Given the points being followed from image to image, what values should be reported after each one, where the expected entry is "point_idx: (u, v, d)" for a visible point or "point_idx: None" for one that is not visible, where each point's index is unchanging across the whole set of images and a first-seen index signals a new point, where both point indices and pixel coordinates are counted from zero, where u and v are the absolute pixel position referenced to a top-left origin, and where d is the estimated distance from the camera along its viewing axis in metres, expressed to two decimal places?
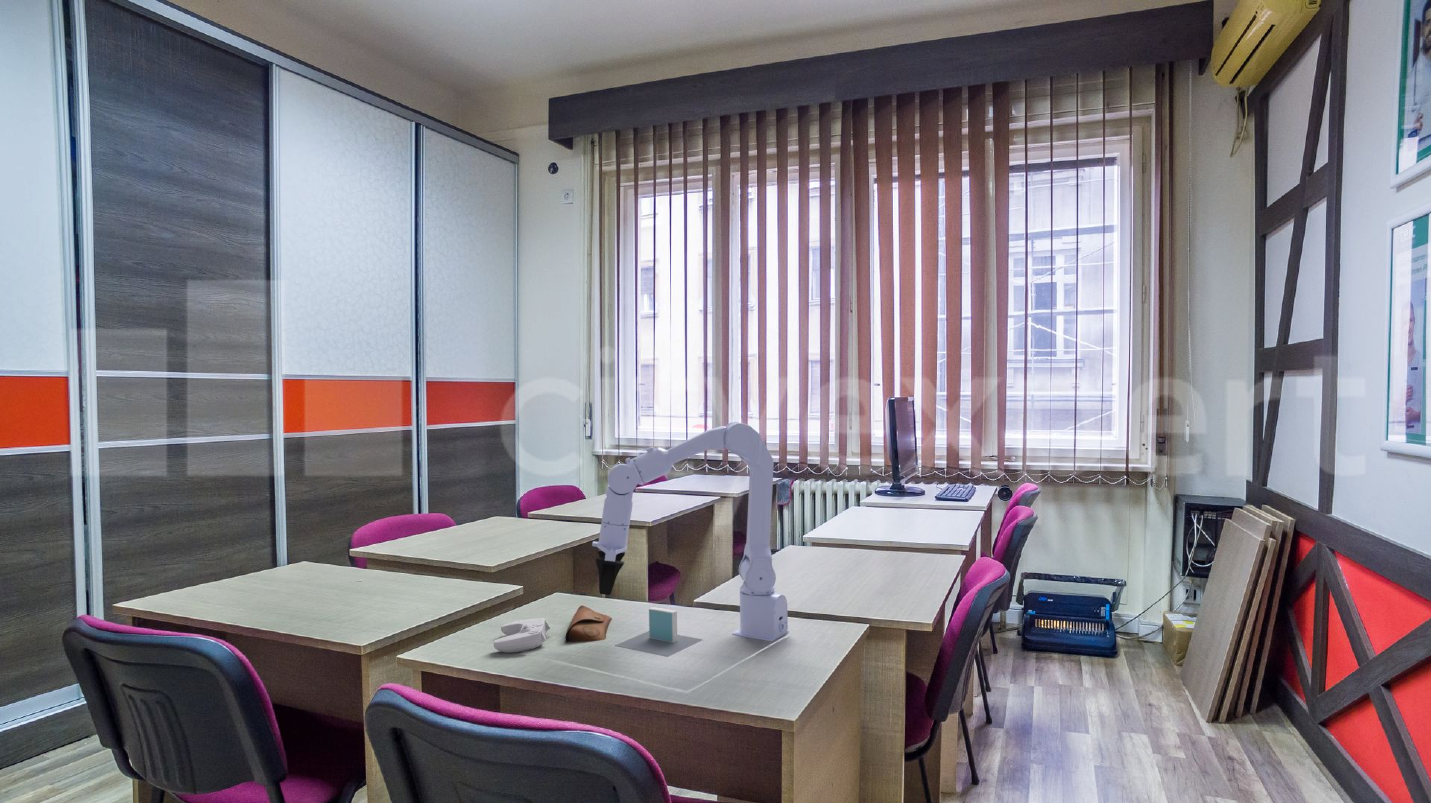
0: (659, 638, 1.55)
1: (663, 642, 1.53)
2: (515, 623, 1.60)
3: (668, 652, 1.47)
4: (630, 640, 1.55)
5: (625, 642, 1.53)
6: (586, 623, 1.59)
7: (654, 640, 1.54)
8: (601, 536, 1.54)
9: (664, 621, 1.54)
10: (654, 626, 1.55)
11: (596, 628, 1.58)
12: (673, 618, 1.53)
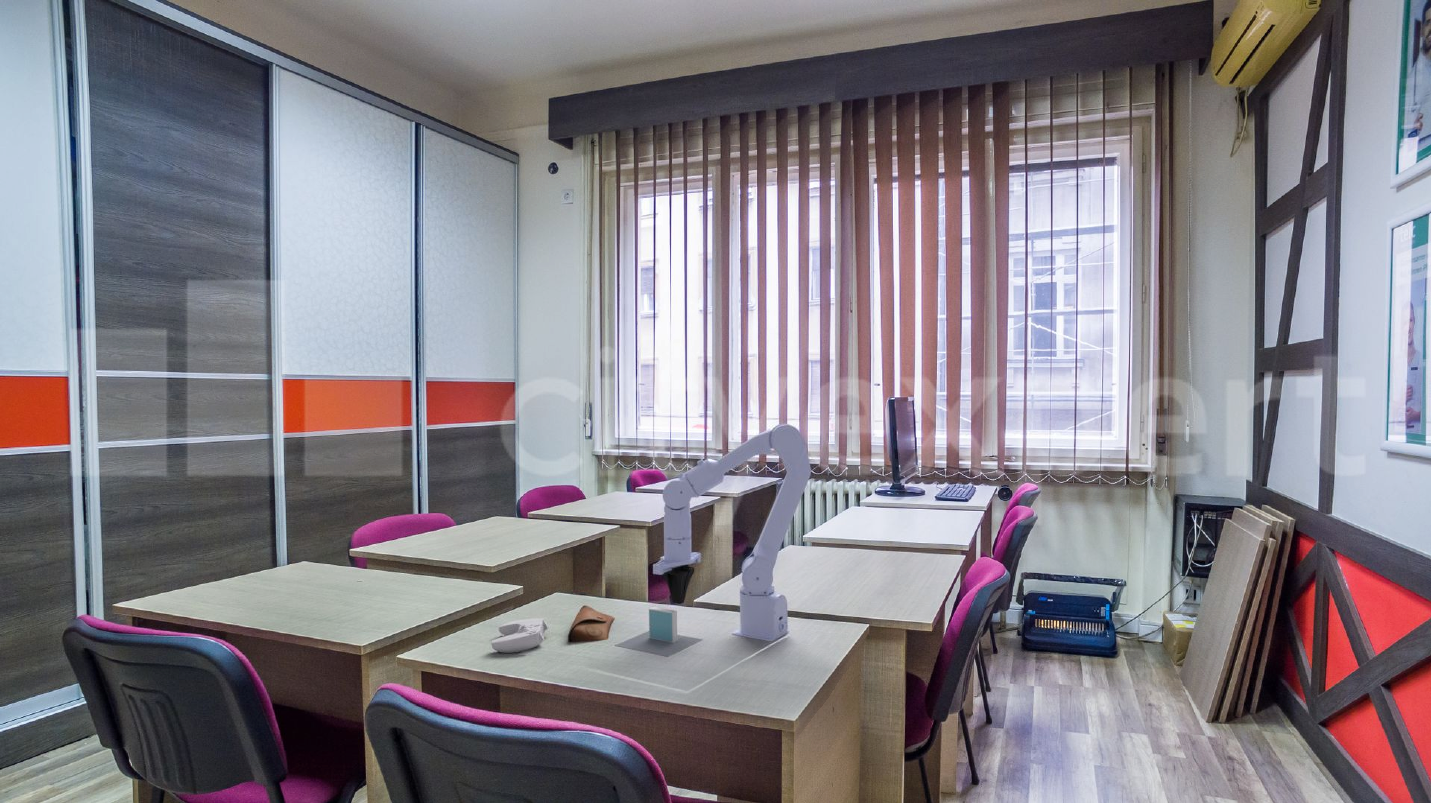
0: (659, 638, 1.55)
1: (663, 642, 1.53)
2: (513, 623, 1.59)
3: (668, 652, 1.47)
4: (630, 640, 1.55)
5: (625, 642, 1.53)
6: (589, 623, 1.59)
7: (654, 640, 1.54)
8: None
9: (664, 621, 1.54)
10: (654, 626, 1.55)
11: (599, 628, 1.58)
12: (673, 618, 1.53)
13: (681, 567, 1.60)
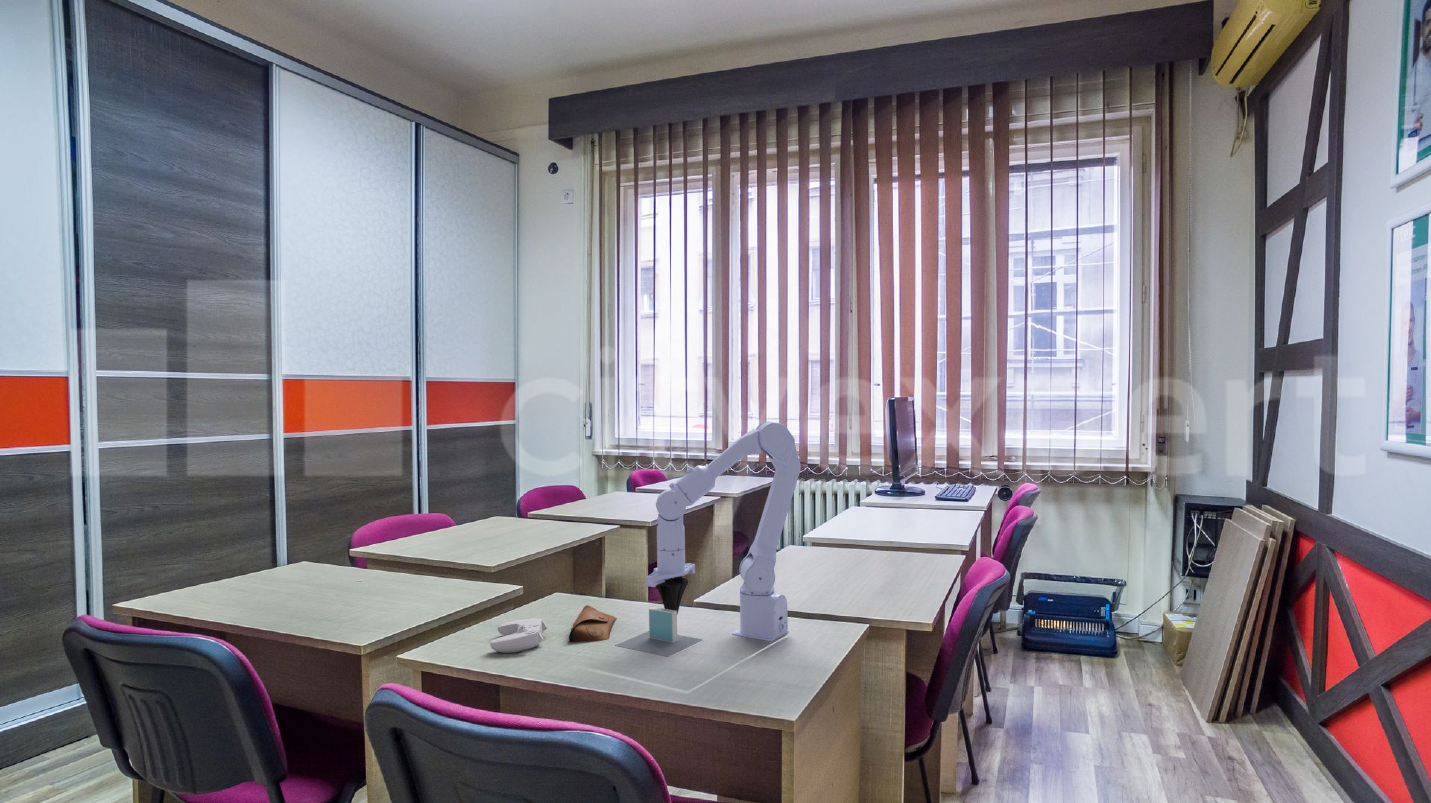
0: (659, 638, 1.55)
1: (663, 642, 1.53)
2: (512, 623, 1.59)
3: (668, 652, 1.47)
4: (630, 640, 1.55)
5: (625, 642, 1.53)
6: (590, 623, 1.59)
7: (654, 640, 1.54)
8: (657, 562, 1.58)
9: (664, 621, 1.54)
10: (654, 626, 1.55)
11: (600, 629, 1.58)
12: (673, 618, 1.53)
13: (674, 579, 1.58)
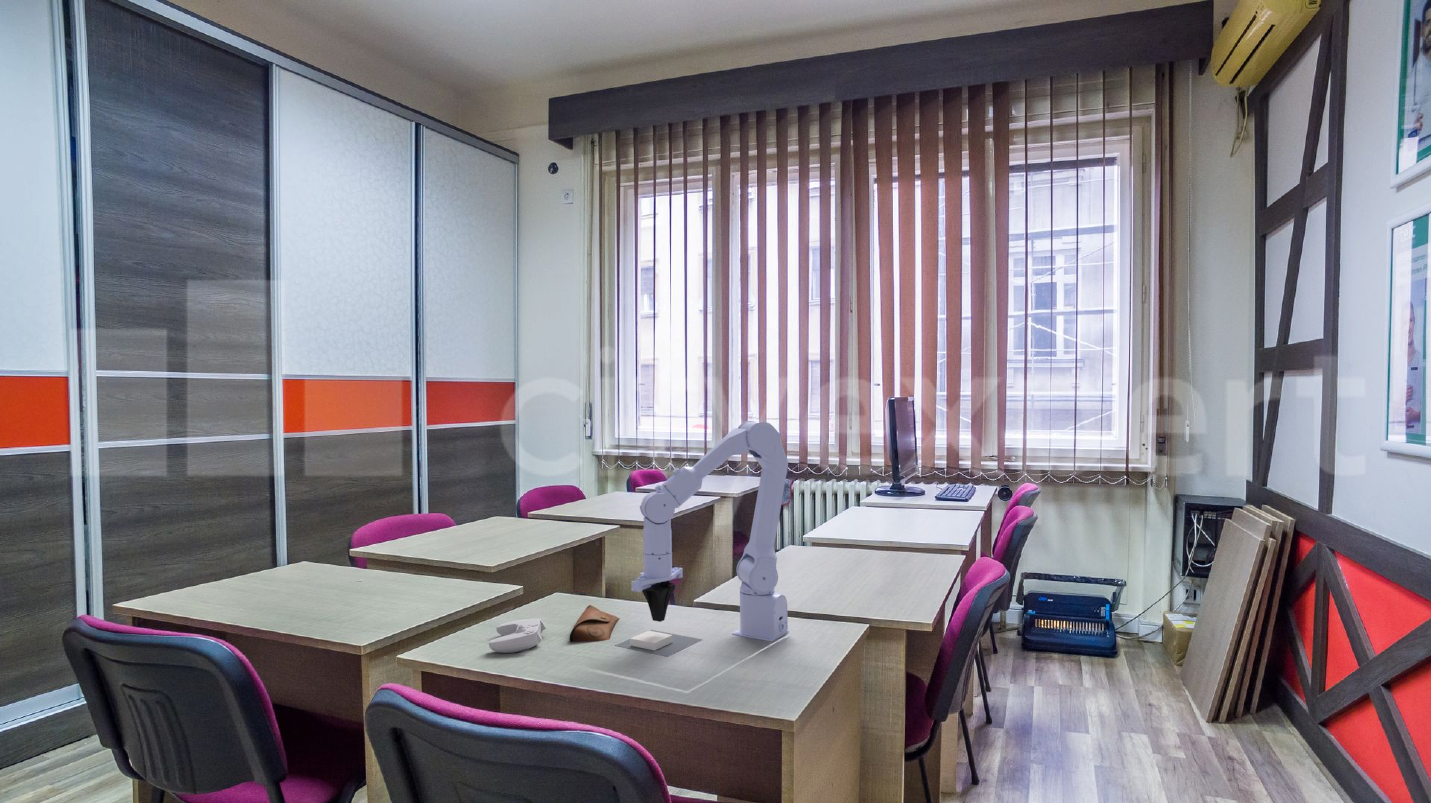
0: None
1: None
2: (510, 623, 1.59)
3: (668, 652, 1.47)
4: None
5: (625, 642, 1.53)
6: (591, 623, 1.59)
7: None
8: None
9: None
10: None
11: (601, 629, 1.58)
12: (658, 647, 1.49)
13: (661, 583, 1.54)
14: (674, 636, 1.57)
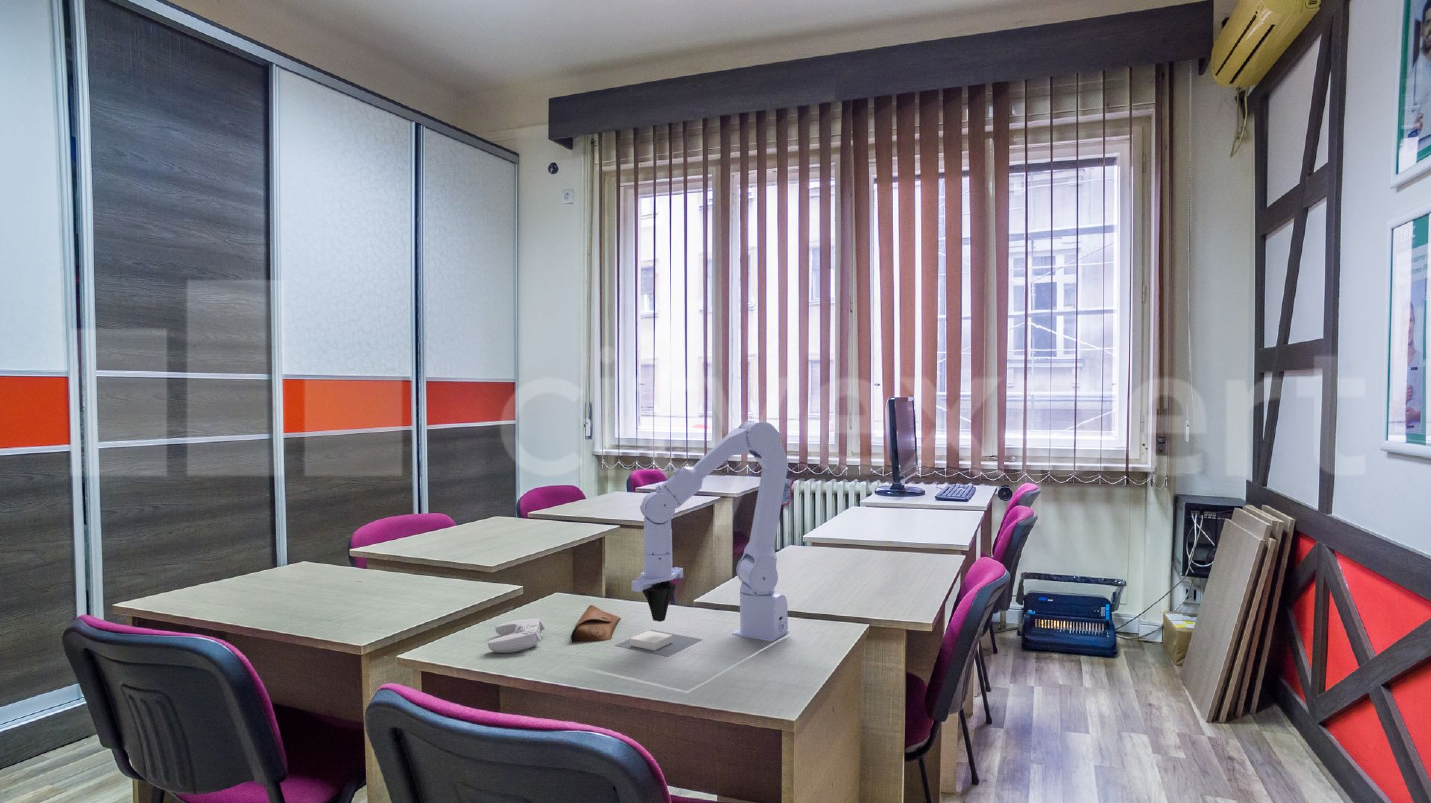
0: None
1: None
2: (509, 623, 1.59)
3: (668, 652, 1.47)
4: None
5: (625, 642, 1.53)
6: (593, 623, 1.59)
7: None
8: None
9: None
10: None
11: (602, 629, 1.58)
12: (658, 647, 1.49)
13: (662, 583, 1.54)
14: (674, 636, 1.57)
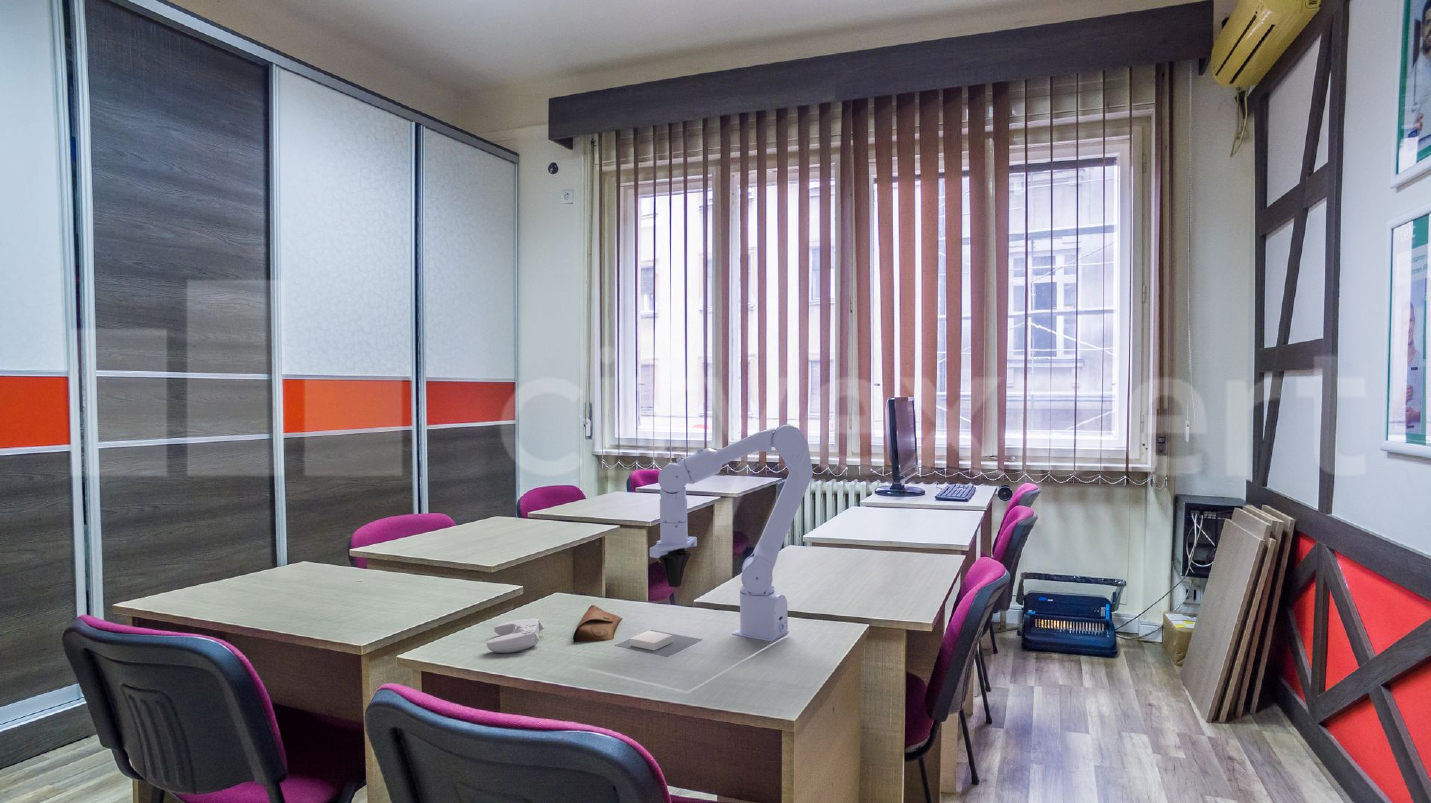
0: None
1: None
2: (508, 623, 1.59)
3: (668, 652, 1.47)
4: None
5: (625, 642, 1.53)
6: (595, 623, 1.59)
7: None
8: (660, 534, 1.60)
9: None
10: None
11: (604, 629, 1.58)
12: (658, 647, 1.49)
13: (677, 551, 1.60)
14: (674, 636, 1.57)
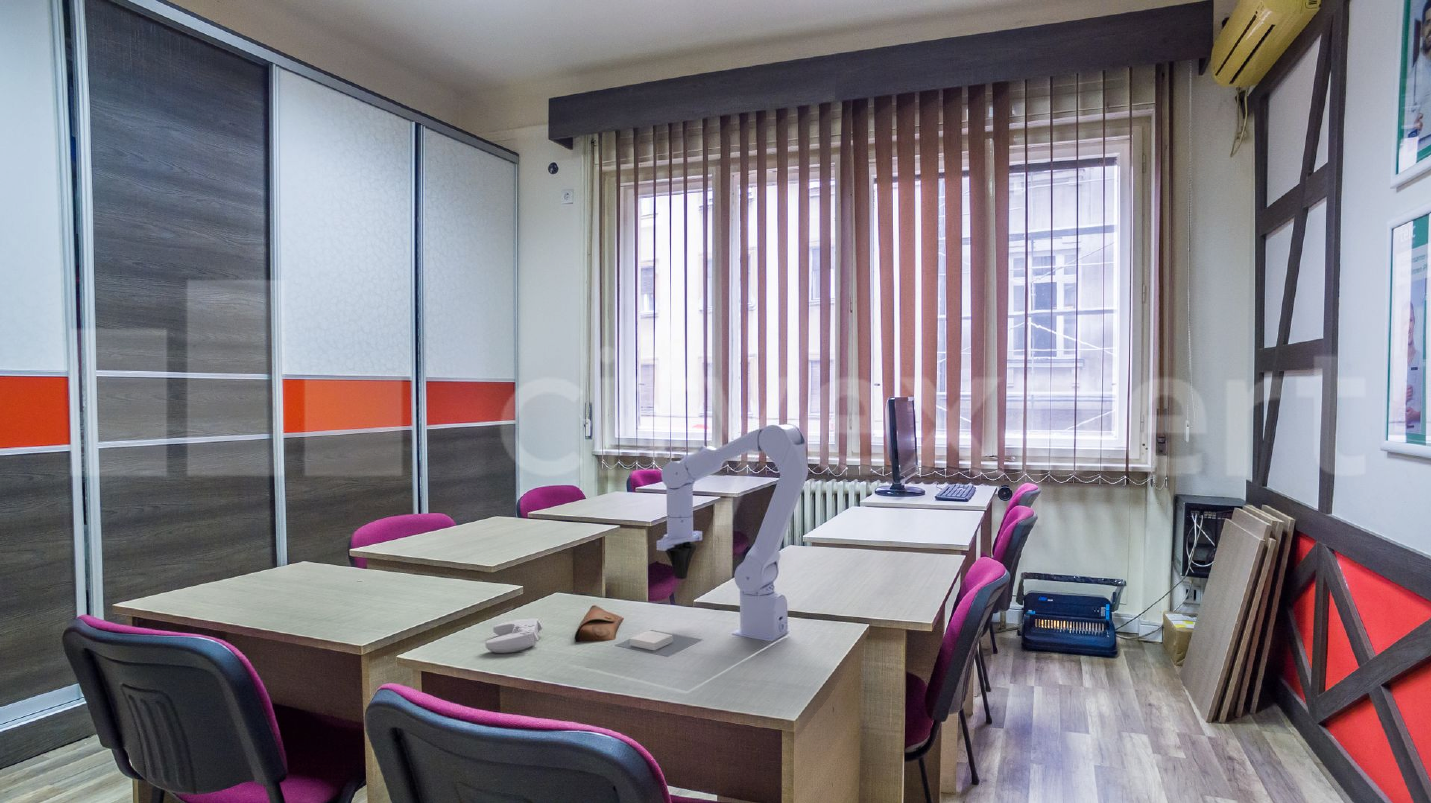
0: None
1: None
2: (507, 623, 1.59)
3: (668, 652, 1.47)
4: None
5: (625, 642, 1.53)
6: (596, 623, 1.59)
7: None
8: None
9: None
10: None
11: (606, 629, 1.58)
12: (658, 647, 1.49)
13: (683, 544, 1.67)
14: (674, 636, 1.57)
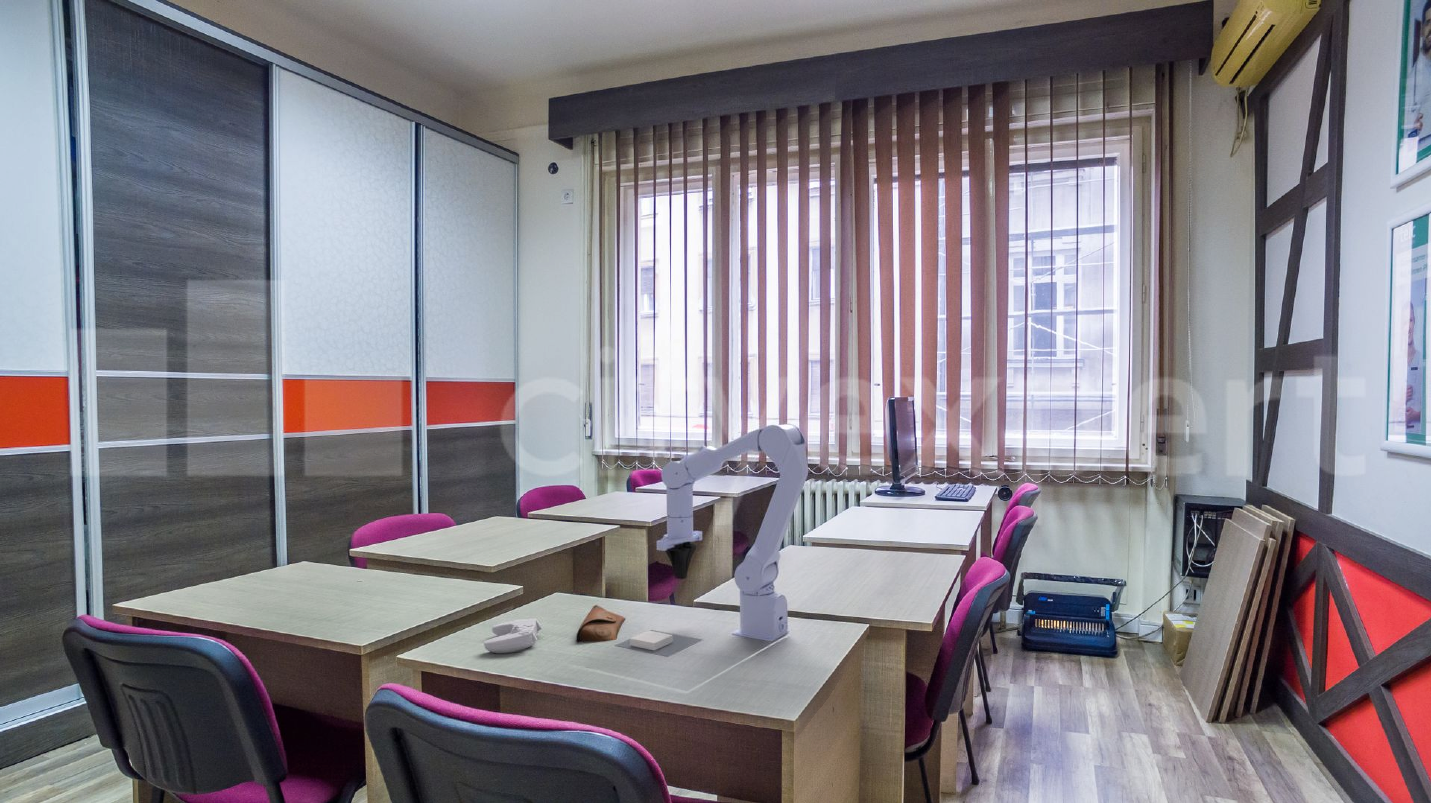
0: None
1: None
2: (506, 624, 1.59)
3: (668, 652, 1.47)
4: None
5: (625, 642, 1.53)
6: (598, 623, 1.59)
7: None
8: None
9: None
10: None
11: (607, 629, 1.58)
12: (658, 647, 1.49)
13: (683, 544, 1.67)
14: (674, 636, 1.57)
